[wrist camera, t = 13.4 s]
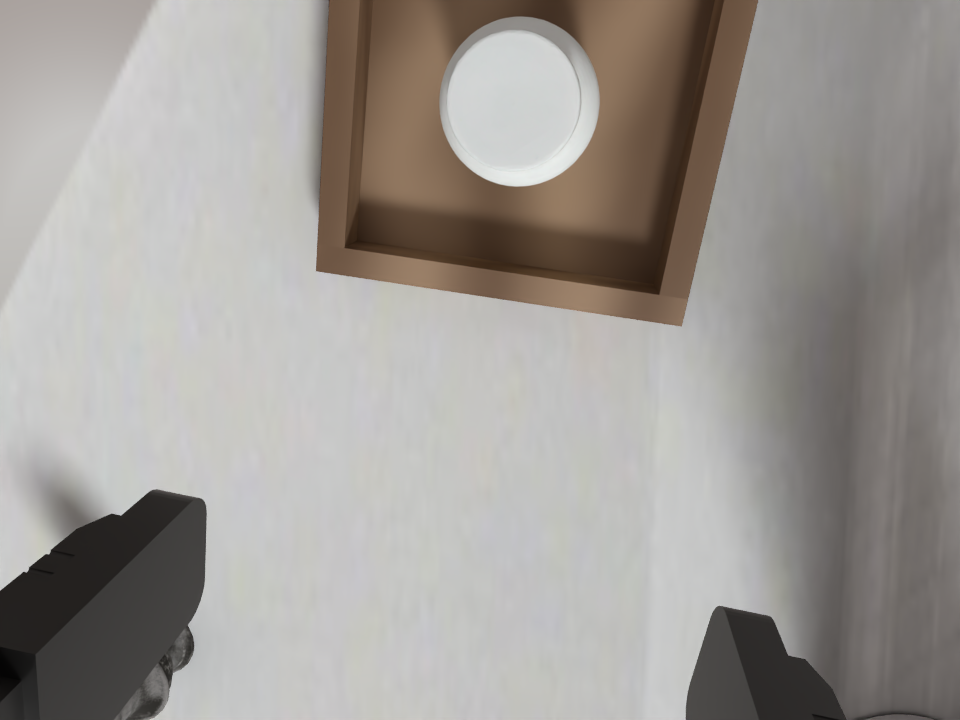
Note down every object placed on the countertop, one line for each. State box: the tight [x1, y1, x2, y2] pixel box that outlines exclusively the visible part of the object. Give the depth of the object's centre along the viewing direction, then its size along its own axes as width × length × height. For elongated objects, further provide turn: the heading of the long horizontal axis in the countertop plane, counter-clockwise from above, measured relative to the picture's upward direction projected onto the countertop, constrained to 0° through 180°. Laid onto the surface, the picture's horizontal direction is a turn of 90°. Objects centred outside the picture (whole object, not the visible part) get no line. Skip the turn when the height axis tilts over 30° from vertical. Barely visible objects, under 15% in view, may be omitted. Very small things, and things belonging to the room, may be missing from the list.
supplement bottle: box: [439, 16, 600, 187], centre depth 25 cm, size 5×5×10 cm
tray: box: [316, 0, 758, 326], centre depth 29 cm, size 16×16×3 cm
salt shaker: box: [114, 626, 194, 720], centre depth 37 cm, size 6×6×12 cm
